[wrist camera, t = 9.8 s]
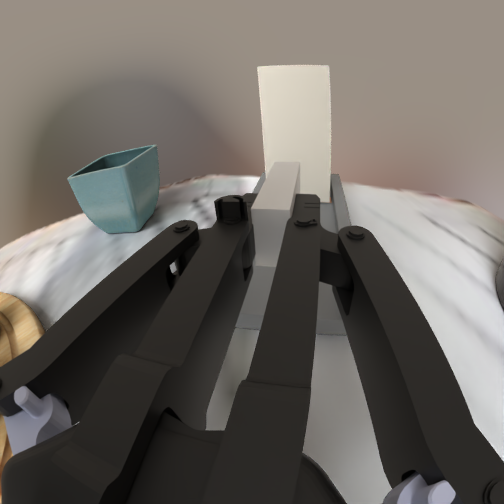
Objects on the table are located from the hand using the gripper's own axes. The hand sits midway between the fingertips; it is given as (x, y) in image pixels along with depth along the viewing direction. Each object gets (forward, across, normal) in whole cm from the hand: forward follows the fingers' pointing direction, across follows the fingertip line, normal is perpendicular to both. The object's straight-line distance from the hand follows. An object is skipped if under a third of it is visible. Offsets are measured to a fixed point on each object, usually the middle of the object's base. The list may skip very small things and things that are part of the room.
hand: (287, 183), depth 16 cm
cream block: (+16, 0, -7) cm, 17 cm away
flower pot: (+10, -21, -9) cm, 25 cm away
